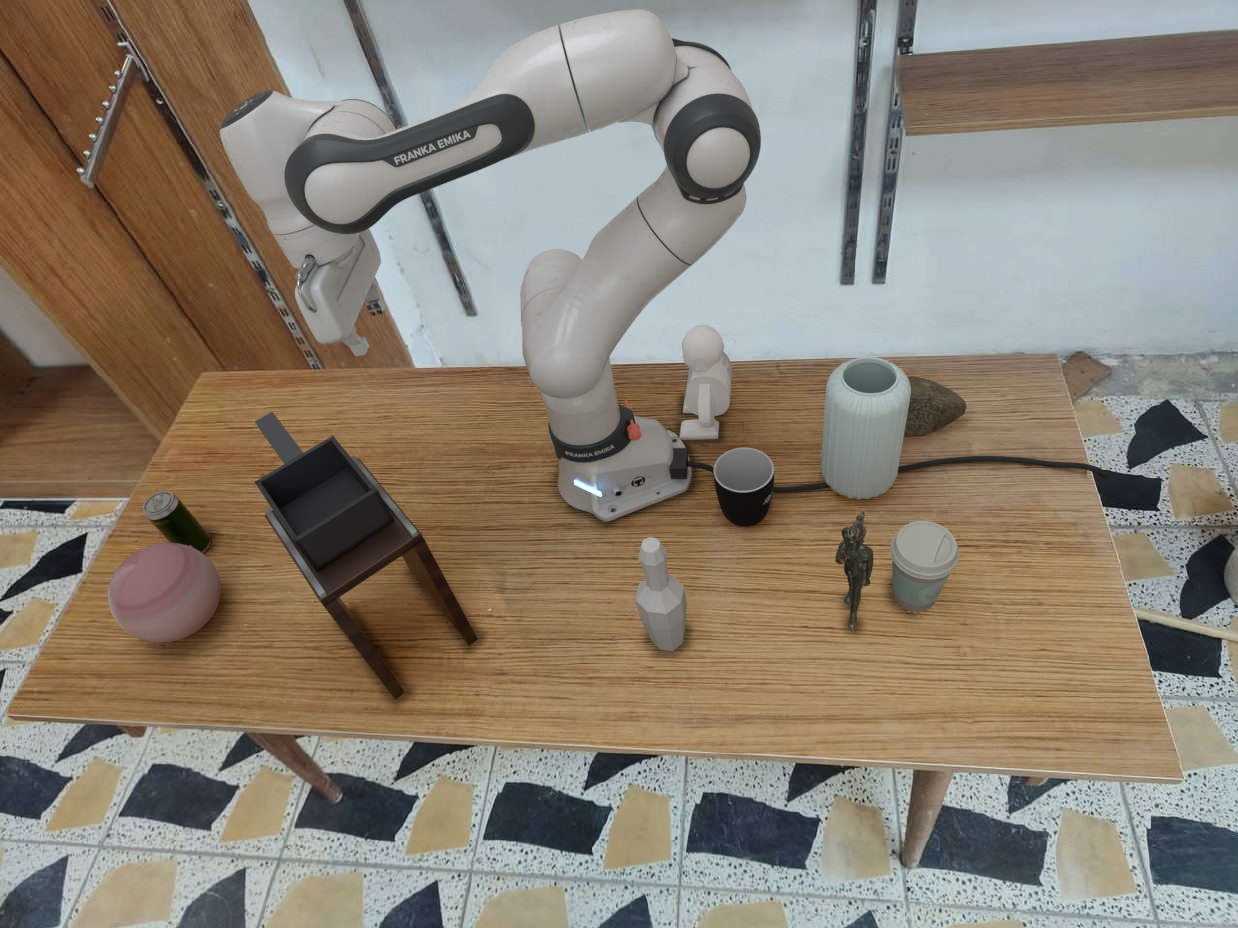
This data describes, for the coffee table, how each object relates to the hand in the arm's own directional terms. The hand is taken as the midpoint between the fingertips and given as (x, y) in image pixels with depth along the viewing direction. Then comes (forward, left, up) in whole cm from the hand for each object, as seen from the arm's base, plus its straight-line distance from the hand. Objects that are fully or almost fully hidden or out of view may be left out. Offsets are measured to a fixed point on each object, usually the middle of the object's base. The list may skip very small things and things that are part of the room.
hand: (371, 331), depth 107 cm
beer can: (+46, -6, -40) cm, 61 cm away
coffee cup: (-64, +33, -40) cm, 82 cm away
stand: (+8, +20, -40) cm, 45 cm away
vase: (-64, +11, -40) cm, 76 cm away
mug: (-46, +11, -40) cm, 62 cm away
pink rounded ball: (+44, +9, -40) cm, 60 cm away
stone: (-76, +2, -40) cm, 86 cm away
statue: (-54, +34, -40) cm, 75 cm away
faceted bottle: (-29, +31, -40) cm, 58 cm away
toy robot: (-45, -10, -40) cm, 61 cm away
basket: (+12, +14, -13) cm, 22 cm away
